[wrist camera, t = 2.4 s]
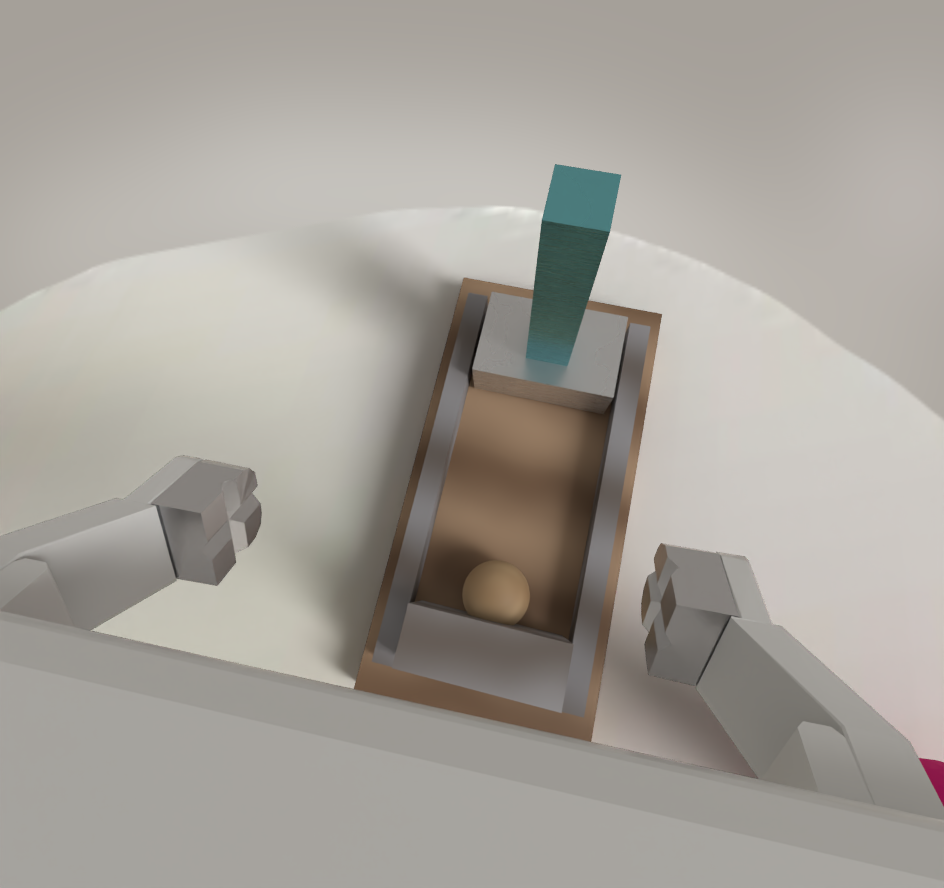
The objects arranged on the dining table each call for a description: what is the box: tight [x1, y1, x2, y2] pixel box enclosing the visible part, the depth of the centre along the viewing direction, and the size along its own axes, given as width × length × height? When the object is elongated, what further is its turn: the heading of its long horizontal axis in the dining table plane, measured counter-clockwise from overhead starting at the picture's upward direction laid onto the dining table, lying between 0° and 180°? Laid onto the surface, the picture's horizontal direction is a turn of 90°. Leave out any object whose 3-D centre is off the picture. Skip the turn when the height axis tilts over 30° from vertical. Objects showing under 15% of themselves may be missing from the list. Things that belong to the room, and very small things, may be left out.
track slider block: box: [472, 164, 628, 414], centre depth 27 cm, size 5×8×15 cm, turn 77°
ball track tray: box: [354, 278, 662, 742], centre depth 31 cm, size 26×13×7 cm, turn 167°
